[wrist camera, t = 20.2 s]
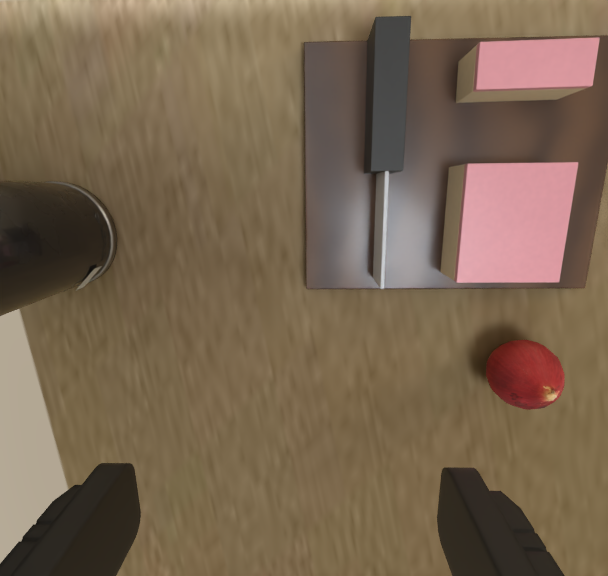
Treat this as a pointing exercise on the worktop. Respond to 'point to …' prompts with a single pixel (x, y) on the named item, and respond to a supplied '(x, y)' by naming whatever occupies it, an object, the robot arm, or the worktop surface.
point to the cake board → (434, 163)
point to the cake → (507, 221)
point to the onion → (525, 374)
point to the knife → (385, 118)
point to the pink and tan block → (526, 70)
